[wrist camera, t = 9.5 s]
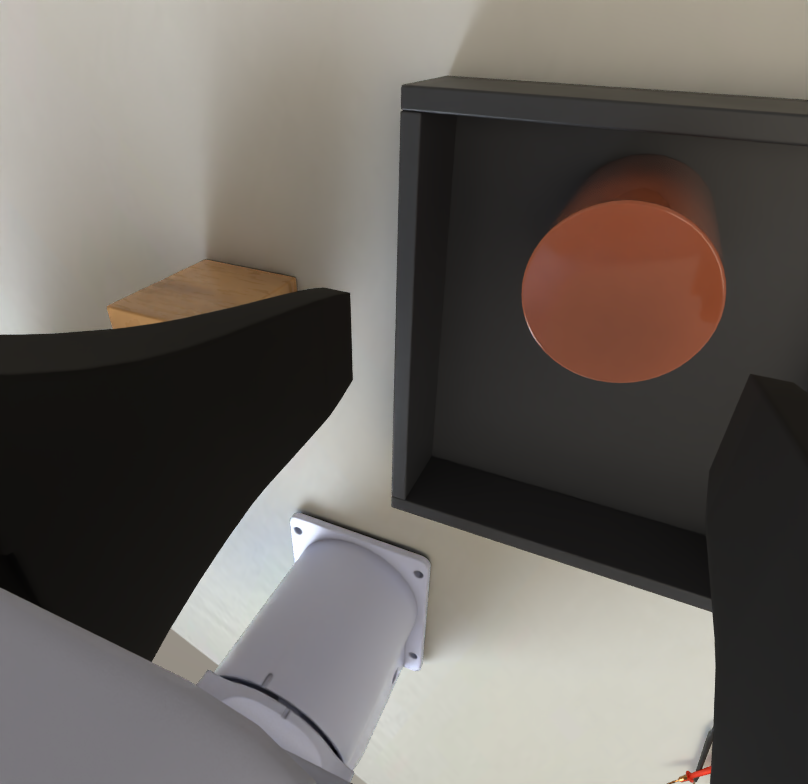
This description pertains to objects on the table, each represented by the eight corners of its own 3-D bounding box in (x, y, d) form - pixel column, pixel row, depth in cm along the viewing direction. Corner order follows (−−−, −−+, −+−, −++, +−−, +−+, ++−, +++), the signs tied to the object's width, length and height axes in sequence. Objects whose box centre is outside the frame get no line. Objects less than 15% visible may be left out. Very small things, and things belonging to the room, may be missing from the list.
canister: (690, 308, 17) (690, 402, 13) (552, 284, 19) (509, 361, 14) (739, 162, 15) (759, 217, 11) (576, 145, 16) (535, 188, 12)
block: (304, 373, 26) (228, 440, 21) (220, 351, 27) (134, 410, 23) (296, 276, 23) (209, 331, 19) (204, 258, 25) (105, 305, 20)
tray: (768, 556, 21) (780, 635, 18) (423, 455, 25) (390, 507, 23) (1017, 113, 13) (1104, 136, 10) (446, 75, 17) (400, 84, 14)
